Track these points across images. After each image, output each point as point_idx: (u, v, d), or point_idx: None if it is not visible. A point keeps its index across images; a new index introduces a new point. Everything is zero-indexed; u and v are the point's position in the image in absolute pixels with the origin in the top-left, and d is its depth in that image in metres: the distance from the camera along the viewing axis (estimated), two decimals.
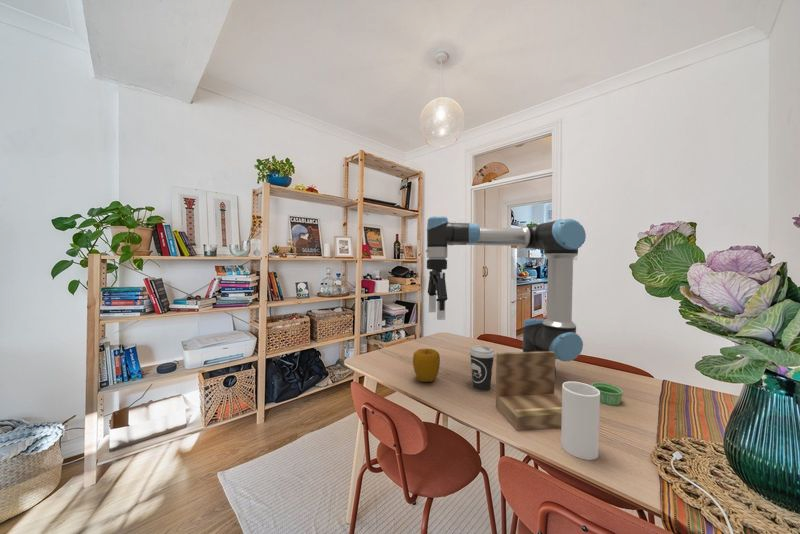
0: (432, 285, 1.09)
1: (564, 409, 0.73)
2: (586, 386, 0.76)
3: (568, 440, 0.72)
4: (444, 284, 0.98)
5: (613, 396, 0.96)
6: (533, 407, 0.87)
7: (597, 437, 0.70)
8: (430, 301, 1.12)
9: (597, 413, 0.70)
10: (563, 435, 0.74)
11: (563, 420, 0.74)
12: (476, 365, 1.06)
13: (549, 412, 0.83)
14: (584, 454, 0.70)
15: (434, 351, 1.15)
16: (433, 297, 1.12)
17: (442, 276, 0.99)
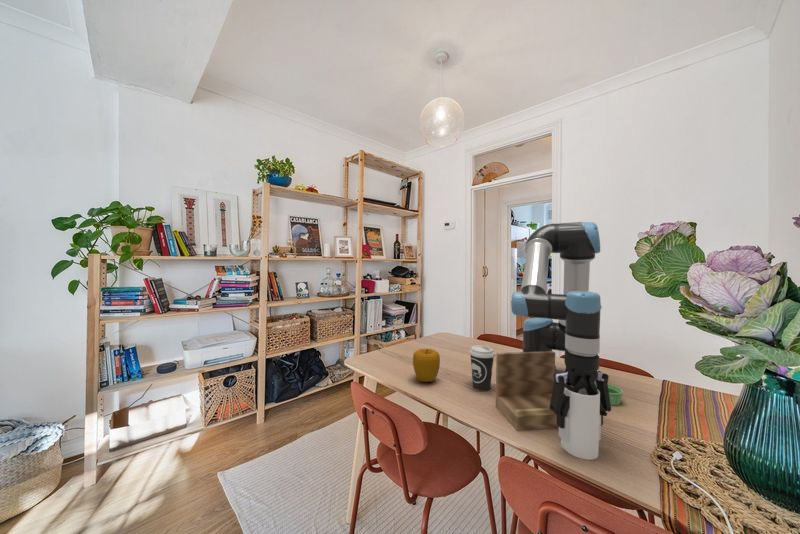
0: (587, 391, 0.74)
1: None
2: None
3: None
4: (557, 393, 0.72)
5: (613, 396, 0.96)
6: (533, 407, 0.87)
7: (597, 437, 0.70)
8: None
9: (597, 412, 0.70)
10: None
11: None
12: (476, 365, 1.06)
13: (549, 412, 0.83)
14: (584, 454, 0.70)
15: (434, 351, 1.15)
16: None
17: (557, 380, 0.72)
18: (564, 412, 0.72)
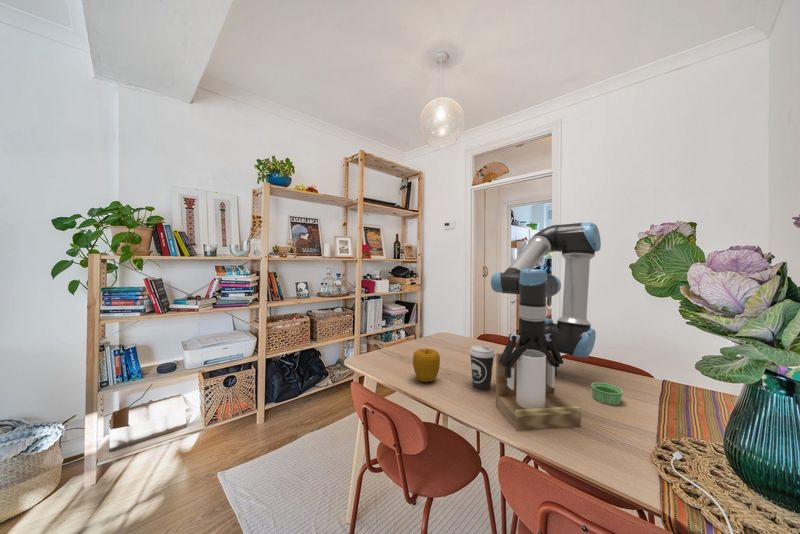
0: (541, 350, 0.90)
1: (517, 370, 0.89)
2: (537, 352, 0.91)
3: (520, 395, 0.87)
4: (508, 348, 0.87)
5: (613, 396, 0.96)
6: None
7: (543, 392, 0.85)
8: (548, 371, 0.90)
9: (543, 372, 0.85)
10: (517, 392, 0.89)
11: (517, 380, 0.89)
12: (476, 365, 1.06)
13: (549, 412, 0.83)
14: (532, 405, 0.85)
15: (434, 351, 1.15)
16: (550, 367, 0.89)
17: (511, 339, 0.87)
18: (510, 364, 0.86)
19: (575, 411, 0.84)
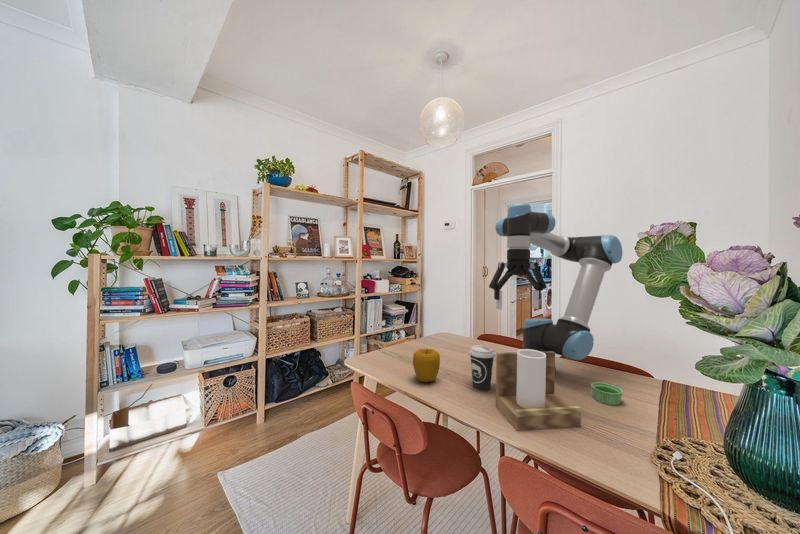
0: (526, 277, 1.01)
1: (517, 370, 0.89)
2: (537, 352, 0.91)
3: (520, 395, 0.87)
4: (497, 273, 0.98)
5: (613, 396, 0.96)
6: None
7: (543, 392, 0.85)
8: (533, 296, 1.02)
9: (543, 372, 0.85)
10: (517, 392, 0.89)
11: (517, 380, 0.89)
12: (476, 365, 1.06)
13: (549, 412, 0.83)
14: (532, 405, 0.85)
15: (434, 351, 1.15)
16: (535, 292, 1.01)
17: (499, 266, 0.99)
18: (499, 287, 0.98)
19: (575, 411, 0.84)
